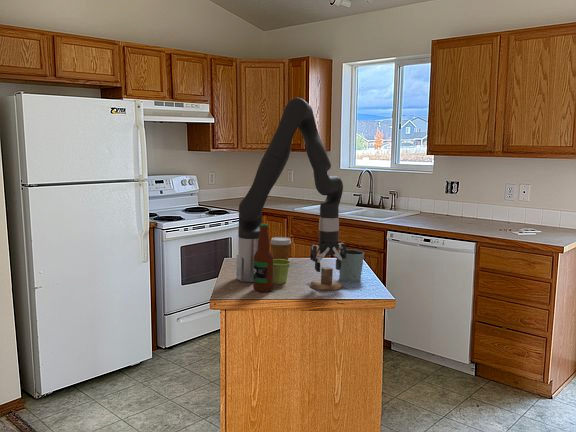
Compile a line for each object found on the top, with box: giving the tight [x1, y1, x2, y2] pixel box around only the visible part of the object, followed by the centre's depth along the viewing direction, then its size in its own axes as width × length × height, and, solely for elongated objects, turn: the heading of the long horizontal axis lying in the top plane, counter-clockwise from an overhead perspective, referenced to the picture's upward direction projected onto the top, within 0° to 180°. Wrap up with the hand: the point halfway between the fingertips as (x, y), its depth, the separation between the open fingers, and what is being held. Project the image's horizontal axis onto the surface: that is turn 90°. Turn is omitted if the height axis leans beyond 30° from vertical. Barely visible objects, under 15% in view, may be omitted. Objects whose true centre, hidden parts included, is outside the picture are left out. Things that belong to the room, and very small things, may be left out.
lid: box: [310, 266, 343, 292], centre depth 200 cm, size 12×12×7 cm
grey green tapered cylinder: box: [338, 248, 365, 283], centre depth 211 cm, size 10×10×12 cm
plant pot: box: [273, 259, 292, 285], centre depth 205 cm, size 9×9×9 cm
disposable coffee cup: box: [269, 236, 292, 260], centre depth 235 cm, size 10×10×12 cm
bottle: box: [253, 223, 274, 293], centre depth 194 cm, size 7×7×25 cm
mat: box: [306, 282, 348, 293], centre depth 200 cm, size 12×12×1 cm
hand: (328, 270), depth 200 cm, fingers open, 8 cm apart
